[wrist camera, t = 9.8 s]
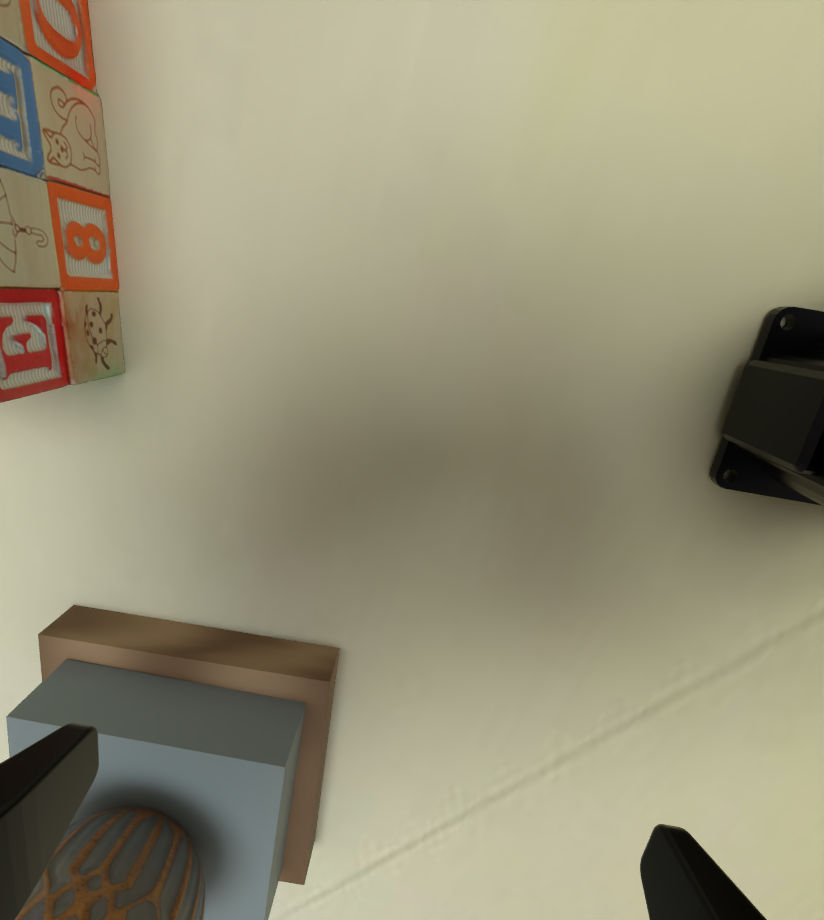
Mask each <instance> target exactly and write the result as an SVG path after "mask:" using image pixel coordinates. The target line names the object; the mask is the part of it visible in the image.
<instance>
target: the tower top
mask: <svg viewBox="0 0 824 920" xmlns="http://www.w3.org/2000/svg"><path fill="white" fill-rule="evenodd" d="M305 707H306V703H304V702H298V701H293V700H287V699H282V698H277V697H271V696H266V695H260V694H255V693H249V692H244V691H238V690H233V689H228V688H222V687H217V686H211V685H206V684H200V683H195V682H189V681H184V680H178V679H173V678H168V677H162V676H157V675H151V674H146V673H140V672H135V671H129V670H124V669H119V668H113V667H108V666H102V665H97V664H91V663H86V662H80V661H75V660H70V659H66V660H65V661H64V662H63V663H62V664H61V665H60V666H59V667H57V668H56V669H55V670H54V671H53V672H52V673H51V674H50V675H49V676H48V677H47V678H46V679H45V680H44V681H43V682H42V683H41V684H40V685H39V686H38V687H37V688H36V689H35V690H34V691H32V692H31V693H30V694H29V695H28V696H27V697H26V698H25V699H24V700H23V701H22V702H21V703H20V704H19V705H18V706H17V707H16V708H15V709H14V710H13V711H12V712H11V713H10V714H9V715H7V716H6V718H7V730H8V742H9V753H10V757H12V756H14V755H15V754H17V753H19V752H20V751H22V750H24V749H25V748H27V747H29V746H30V745H32V744H34V743H35V742H37V741H39V740H40V739H42V738H44V737H45V736H47V735H49V734H50V733H52V732H54V731H55V730H57V729H59V728H60V727H62V726H64V725H66V724H69V723H79V724H85V725H91V726H94V727H95V728H96V729H97V731H98V750H99V767H98V772H97V775H96V777H95V780H94V782H93V784H92V786H91V788H90V789H89V791H88V793H87V795H86V797H85V798H84V800H83V802H82V804H81V806H80V808H79V809H78V811H77V813H76V815H75V817H74V818H73V820H72V822H71V824H73V823H75V822H77V821H79V820H82V819H84V818H86V817H88V816H90V815H94V814H97V813H100V812H103V811H107V810H111V809H115V808H120V807H143V808H148V809H152V810H155V811H157V812H160V813H162V814H164V815H166V816H168V817H170V818H171V819H173V820H174V821H176V822H177V823H178V824H179V825H180V826H181V827H182V828H183V829H184V830H185V831H186V832H187V833H188V835H189V836H190V838H191V840H192V842H193V844H194V846H195V848H196V851H197V854H198V856H199V859H200V862H201V865H202V869H203V875H204V881H205V913H204V920H268V918H269V914H270V910H271V907H272V903H273V899H274V896H275V892H276V888H277V885H278V881H279V878H280V874H281V870H282V864H283V857H284V850H285V843H286V836H287V830H288V823H289V816H290V809H291V802H292V795H293V789H294V782H295V775H296V768H297V761H298V754H299V748H300V741H301V734H302V727H303V720H304V713H305ZM71 824H70V825H71Z"/></svg>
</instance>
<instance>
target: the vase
mask: <svg viewBox="0 0 824 920" xmlns="http://www.w3.org/2000/svg"><path fill="white" fill-rule="evenodd" d="M204 913H205V881H204V875H203V869H202V865H201V862H200V859H199V856H198V854H197V851H196V848H195V846H194V844H193V842H192V840H191V838H190V836H189V835H188V833H187V832H186V831H185V830H184V829H183V828H182V827H181V826H180V825H179V824H178V823H177V822H176V821H174V820H173V819H171V818H170V817H168V816H166V815H164V814H162V813H160V812H157V811H155V810H152V809H148V808H143V807H120V808H115V809H111V810H107V811H103V812H100V813H97V814H94V815H90V816H88V817H86V818H84V819H82V820H79V821H77V822H75V823H73V824H71V825H70V826H69V828H68V829H67V831H66V833H65V835H64V837H63V838H62V840H61V842H60V844H59V846H58V848H57V849H56V851H55V853H54V855H53V857H52V858H51V860H50V862H49V864H48V866H47V868H46V869H45V871H44V873H43V875H42V877H41V878H40V880H39V882H38V884H37V885H36V887H35V889H34V891H33V892H32V894H31V896H30V897H29V899H28V900H27V902H26V904H25V905H24V907H23V908H22V910H21V911H20V913H19V915H18V916H17V918H16V919H15V920H204Z"/></svg>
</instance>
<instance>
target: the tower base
mask: <svg viewBox="0 0 824 920" xmlns="http://www.w3.org/2000/svg"><path fill="white" fill-rule="evenodd" d="M38 638H39V649H40V660H41V672H42V682H43V681H44V680H45V679H46V678H47V677H48V676H49V675H50V674H51V673H52V672H53V671H54V670H55V669H56V668H57V667H59V666H60V665H61V664H62V663H63V662H64V661H65V660H66V659H70V660H75V661H80V662H86V663H91V664H97V665H102V666H108V667H113V668H119V669H124V670H129V671H135V672H140V673H146V674H151V675H157V676H162V677H168V678H173V679H178V680H184V681H189V682H195V683H200V684H206V685H211V686H217V687H222V688H228V689H233V690H238V691H244V692H249V693H255V694H260V695H266V696H271V697H277V698H282V699H287V700H293V701H298V702H304V703H306V707H305V713H304V720H303V727H302V734H301V741H300V748H299V754H298V761H297V768H296V775H295V782H294V789H293V795H292V802H291V809H290V816H289V823H288V830H287V836H286V843H285V850H284V857H283V864H282V870H281V874H280V878H279V881H283V882H289V883H295V884H301V885H304V884H305V879H306V875H307V871H308V866H309V862H310V858H311V853H312V849H313V845H314V841H315V833H316V825H317V818H318V810H319V802H320V794H321V787H322V779H323V771H324V763H325V756H326V748H327V740H328V732H329V725H330V717H331V709H332V701H333V694H334V686H335V678H336V670H337V663H338V655H339V648H334V647H327V646H321V645H315V644H309V643H303V642H297V641H291V640H285V639H279V638H272V637H266V636H260V635H254V634H248V633H242V632H236V631H230V630H224V629H217V628H211V627H205V626H199V625H193V624H187V623H181V622H175V621H169V620H162V619H156V618H150V617H144V616H138V615H132V614H126V613H120V612H114V611H107V610H101V609H95V608H89V607H83V606H77V605H73V606H72V607H71V608H70V609H69V610H67V611H66V612H65V613H64V614H62V615H61V616H60V617H59V618H58V619H56V620H55V621H54V622H53V623H52V624H50V625H49V626H48V627H47V628H45V629H44V630H43V631H42V632H41V633H39V634H38Z"/></svg>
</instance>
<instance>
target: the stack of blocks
mask: <svg viewBox="0 0 824 920" xmlns="http://www.w3.org/2000/svg"><path fill="white" fill-rule="evenodd" d="M118 290H119V279H118V269H117V258H116V248H115V238H114V228H113V218H112V207H111V201H110V186H109V172H108V162H107V153H106V142H105V133H104V124H103V114H102V106H101V100H100V98H99V96H98V95H97V92H96V75H95V70H94V66H93V55H92V45H91V33H90V24H89V16H88V6H87V0H0V403H1V402H5V401H9V400H13V399H18V398H22V397H26V396H30V395H33V394H37V393H41V392H45V391H49V390H53V389H57V388H61V387H64V386H66V385H75V384H81V383H85V382H89V381H94V380H98V379H103V378H107V377H111V376H115V375H119V374H122V373H124V372H125V364H124V354H123V344H122V333H121V322H120V312H119V301H118Z"/></svg>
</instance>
